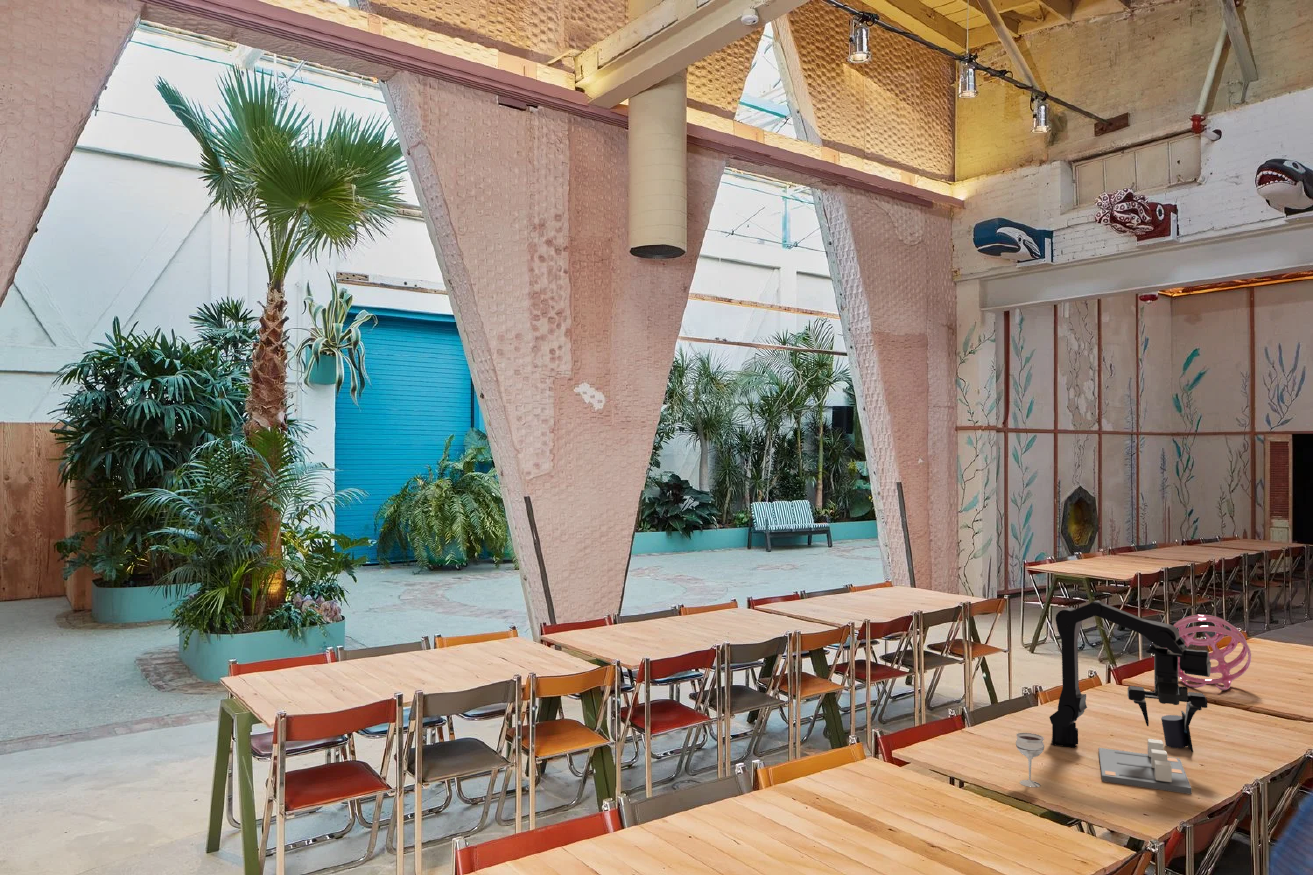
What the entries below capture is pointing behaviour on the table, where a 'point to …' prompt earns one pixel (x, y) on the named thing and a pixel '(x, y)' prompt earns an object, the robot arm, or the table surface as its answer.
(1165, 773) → the switch near
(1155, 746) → the switch far
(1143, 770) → the switch board
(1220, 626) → the spiral basket
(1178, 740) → the speaker
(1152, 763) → the switch mid
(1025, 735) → the wineglass
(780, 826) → the table surface
